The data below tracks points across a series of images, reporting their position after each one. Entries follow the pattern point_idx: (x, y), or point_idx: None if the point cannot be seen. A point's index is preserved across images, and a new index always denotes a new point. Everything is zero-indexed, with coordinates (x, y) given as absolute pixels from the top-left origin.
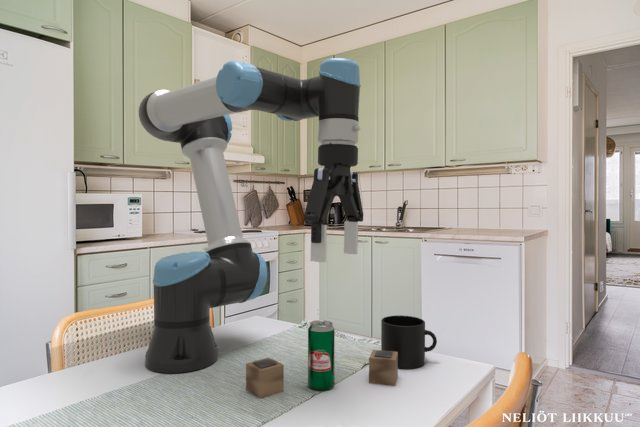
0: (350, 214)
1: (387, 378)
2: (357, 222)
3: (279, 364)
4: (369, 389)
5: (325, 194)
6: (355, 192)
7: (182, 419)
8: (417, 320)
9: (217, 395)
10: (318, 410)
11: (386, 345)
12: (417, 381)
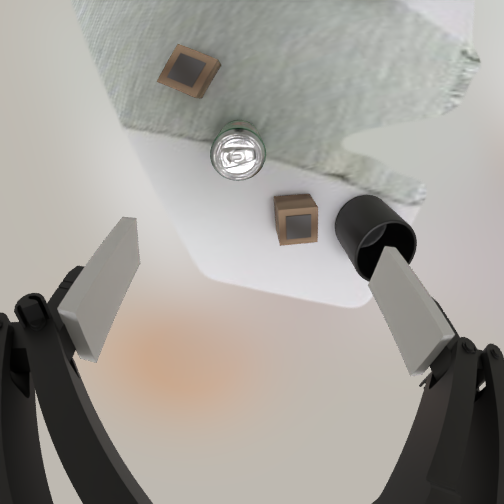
0: (436, 386)
1: (276, 223)
2: (416, 373)
3: (194, 91)
4: (253, 202)
5: (45, 481)
6: (459, 485)
7: (92, 47)
8: None
9: (156, 32)
10: (169, 164)
11: (353, 217)
12: (299, 249)
